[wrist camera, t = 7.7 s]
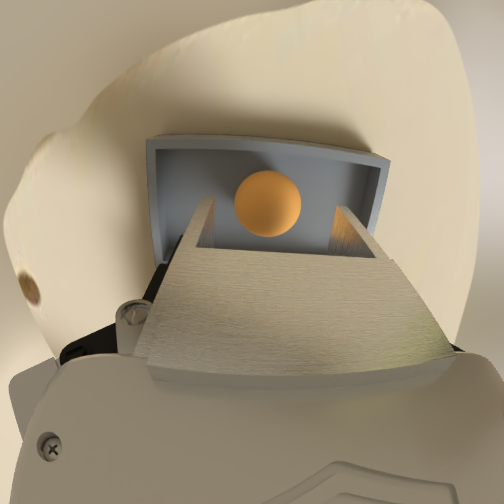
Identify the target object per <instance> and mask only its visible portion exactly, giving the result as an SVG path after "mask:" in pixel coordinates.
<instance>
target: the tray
mask: <svg viewBox="0 0 504 504" xmlns="http://www.w3.org/2000/svg"><path fill="white" fill-rule="evenodd" d="M146 159H147V181H148V197H149V210H150V221H151V231H152V240H153V249H154V256H155V264H156V268H157V267H158V266H159V264H161V263H163V264H167V263H168V261H169V258H170V256H171V254H172V252H173V250H174V248H175V246H176V244H177V242H178V240H179V238H180V236H181V235H184V233H185V231H186V229H187V227H188V225H189V223H190V221H191V219H192V217H193V215H194V213H195V211H196V209H197V207H198V205H199V203H200V201H201V199H202V197H203V195H215V232H214V249H230V250H246V251H263V252H279V253H296V254H312V255H326V253H327V249H328V244H329V240H330V235H331V231H332V226H333V221H334V216H335V211H336V206H337V205H342V206H347V207H348V208H349V209H350V210H351V212H352V213H353V214H354V215H355V216H356V217H357V219H358V220H359V221H360V222H361V223H362V225H363V226H364V227H365V228H366V229H367V231H368V232H369V233H370V234H371V236H372V237H373V234H374V230H375V226H376V223H377V219H378V215H379V211H380V207H381V203H382V199H383V195H384V190H385V186H386V181H387V177H388V172H389V167H390V162H391V161H390V160H388V159H386V158H384V157H382V156H380V155H378V154H376V153H371V152H366V151H361V150H356V149H350V148H345V147H339V146H333V145H326V144H319V143H312V142H305V141H296V140H288V139H278V138H267V137H253V136H237V135H206V134H180V135H157V136H155V137H152V138H149V139H147V140H146ZM266 170H268V171H276V172H279V173H281V174H283V175H285V176H287V177H288V178H289V179H291V180H292V182H293V183H294V184H295V185H296V187H297V189H298V191H299V194H300V198H301V210H300V214H299V217H298V219H297V221H296V222H295V224H294V225H293V226H292V227H291V228H290V229H289V230H288V231H286V232H284V233H283V234H280V235H278V236H273V237H263V236H258V235H255V234H253V233H251V232H250V231H248V230H247V229H246V228H245V227H244V226H243V225H242V224H241V223H240V221H239V220H238V218H237V215H236V212H235V208H234V200H235V195H236V192H237V189H238V187H239V186H240V184H241V183H242V182H243V181H244V180H245V179H246V178H247V177H248V176H250V175H252V174H254V173H256V172H259V171H266Z"/></svg>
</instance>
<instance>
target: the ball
mask: <svg viewBox="0 0 504 504" xmlns="http://www.w3.org/2000/svg"><path fill="white" fill-rule="evenodd" d="M234 208H235V212H236V215H237V218H238V220H239V221H240V223H241V224H242V225H243V226H244V227H245V228H246V229H247V230H248V231H250V232H251V233H253V234H255V235H258V236H263V237H273V236H278V235H280V234H283V233H284V232H286V231H288V230H289V229H290V228H291V227H292V226H293V225H294V224H295V222H296V221H297V219H298V217H299V214H300V210H301V198H300V194H299V191H298V189H297V187H296V185H295V184H294V183H293V182H292V180H291V179H289V178H288V177H287V176H285V175H283V174H281V173H279V172H276V171H268V170H266V171H259V172H256V173H254V174H252V175H250V176H248V177H247V178H246V179H245V180H244V181H243V182H242V183H241V184H240V186H239V187H238V189H237V192H236V195H235V200H234Z"/></svg>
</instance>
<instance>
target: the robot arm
mask: <svg viewBox="0 0 504 504" xmlns="http://www.w3.org/2000/svg"><path fill="white" fill-rule="evenodd" d="M182 237H183V235H181V236H180V238H179V240H178V242H177V244H176V246H175V248H174V250H173V252H172V254H171V256H170V258H169V261H168V263H167V264H163V263H161V264H159V266H158V267H157V269H156V271H155V273H154V275H153V278H152V280H151V282H150V284H149V286H148V288H147V290H146V292H145V294H144V296H143V298H142V300H141V299H138V300H131V301H128V302H126V303H124V304H122V305H121V306H120V307H119V308H118V310H117V312H116V316H115V318H116V323H113V324H111V325H109V326H107V327H105V328H102V329H100V330H98V331H96V332H94V333H91V334H89V335H87V336H85V337H83V338H80V339H78V340H76V341H74V342H72V343H70V344H68V345H67V346H66V347H65V348H64V349H63V350H62V352H61V354H60V357H59V359H56V360H55V358H54V357H52V358H50V359H48V360H46V361H44V362H42V363H40V364H38V365H36V366H34V367H31V368H29V369H27V370H25V371H23V372H21V373H19V374H17V375H15V376H14V377H13V378H12V380H11V381H10V384H9V395H10V399H11V403H12V407H13V410H14V414H15V417H16V421H17V424H18V427H19V430H20V433H21V436H22V439H23V443H22V447H21V450H20V453H19V457H18V461H17V465H16V468H15V473H14V478H13V483H12V490H11V496H10V504H504V381H503V379H502V378H501V376H500V374H499V373H498V371H497V370H496V368H495V367H494V365H493V364H492V363H491V362H490V361H489V360H488V359H487V358H485V357H483V356H481V355H478V354H474V353H469V352H465V351H463V350H461V349H460V348H458V347H456V346H454V345H453V344H451V343H450V344H451V346H452V348H453V349H454V351H455V353H456V355H457V357H456V358H455V360H454V361H453V362H452V364H451V365H450V366H449V367H448V369H447V370H444V371H440V372H435V373H430V374H425V375H420V376H415V377H410V378H404V379H398V380H392V381H386V382H379V383H371V384H363V385H353V386H343V387H330V388H313V389H236V388H220V387H207V386H197V385H187V384H178V383H170V382H162V381H156V380H152V379H151V376H150V374H149V371H148V368H147V365H146V364H147V361H148V358H145V357H137V356H133V353H134V350H135V347H136V345H137V342H138V340H139V337H140V334H141V332H142V329H143V327H144V324H145V322H146V319H147V317H148V314H149V312H150V309H151V307H152V305H153V302H154V300H155V297H156V295H157V293H158V290H159V288H160V286H161V283H162V281H163V279H164V277H165V274H166V272H167V270H168V268H169V265H170V263H171V261H172V259H173V257H174V254H175V252H176V250H177V248H178V246H179V244H180V242H181V239H182Z"/></svg>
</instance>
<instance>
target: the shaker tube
mask: <svg viewBox="0 0 504 504" xmlns="http://www.w3.org/2000/svg"><path fill="white" fill-rule="evenodd" d="M214 232H215V195H203V197H202V199H201V201H200V203H199V205H198V207H197V209H196V211H195V213H194V215H193V217H192V219H191V221H190V223H189V225H188V227H187V229H186V231H185V233H184V235H183V237H182V239H181V242H180V244H179V246H178V248H177V250H176V252H175V254H174V257H173V259H172V261H171V263H170V265H169V268H168V270H167V272H166V274H165V277H164V279H163V281H162V283H161V286H160V288H159V290H158V293H157V295H156V297H155V300H154V302H153V305H152V307H151V309H150V312H149V314H148V317H147V319H146V322H145V324H144V327H143V329H142V332H141V334H140V337H139V340H138V342H137V345H136V347H135V350H134V353H133V356H137V357H145V358H148V361H147V364H146V365H147V368H148V371H149V374H150V376H151V379H152V380H156V381H162V382H170V383H178V384H187V385H197V386H207V387H220V388H236V389H313V388H330V387H343V386H353V385H363V384H371V383H379V382H386V381H392V380H398V379H404V378H410V377H415V376H420V375H425V374H430V373H435V372H440V371H444V370H447V369H448V367H449V366H450V365H451V364H452V362H453V361H454V360H455V358H456V357H457V355H456V353H455V351H454V349H453V348H452V346H451V344H450V343H449V341H448V339H447V337H446V336H445V334H444V333H443V331H442V329H441V328H440V326H439V324H438V323H437V321H436V320H435V318H434V317H433V315H432V314H431V312H430V311H429V309H428V307H427V306H426V304H425V303H424V302H423V300H422V299H421V297H420V296H419V294H418V293H417V291H416V290H415V288H414V287H413V286H412V284H411V283H410V281H409V280H408V279H407V277H406V276H405V275H404V273H403V272H402V271H401V269H400V268H399V266H398V265H397V264H396V263H395V261H394V260H393V259H389V257H388V256H387V255H386V254H385V252H384V251H383V250H382V248H381V247H380V246H379V244H378V243H377V242H376V241H375V239H374V238H373V237H372V236H371V234H370V233H369V232H368V231H367V229H366V228H365V227H364V226H363V225H362V223H361V222H360V221H359V220H358V219H357V217H356V216H355V215H354V214H353V213H352V212H351V210H350V209H349V208H348V207H347V206H342V205H337V206H336V211H335V216H334V221H333V226H332V231H331V235H330V240H329V244H328V249H327V253H326V255H312V254H296V253H279V252H263V251H246V250H230V249H214Z"/></svg>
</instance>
